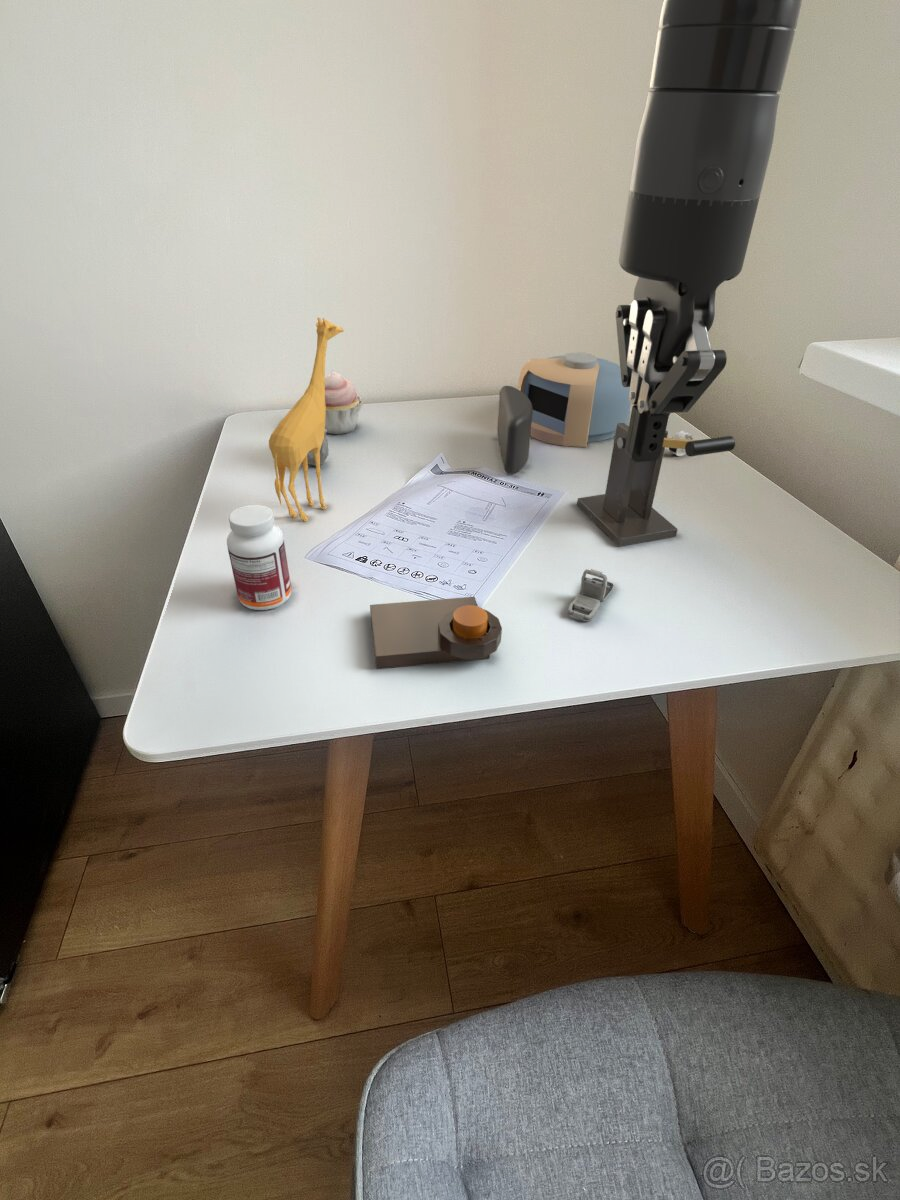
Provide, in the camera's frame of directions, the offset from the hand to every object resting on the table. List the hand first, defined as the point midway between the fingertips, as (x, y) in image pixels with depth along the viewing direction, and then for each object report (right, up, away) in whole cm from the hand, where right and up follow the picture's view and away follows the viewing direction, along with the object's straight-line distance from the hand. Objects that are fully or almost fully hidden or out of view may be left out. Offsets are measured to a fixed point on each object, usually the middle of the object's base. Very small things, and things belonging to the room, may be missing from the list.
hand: (641, 456), depth 52 cm
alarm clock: (+8, +21, +75) cm, 79 cm away
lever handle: (+13, +7, +34) cm, 37 cm away
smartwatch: (+24, +14, +65) cm, 71 cm away
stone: (-36, +11, +60) cm, 71 cm away
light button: (-12, -14, +21) cm, 28 cm away
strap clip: (+3, -11, +31) cm, 33 cm away
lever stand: (+11, +1, +47) cm, 48 cm away
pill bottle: (-36, -10, +31) cm, 48 cm away
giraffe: (-33, +3, +49) cm, 59 cm away
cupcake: (-34, +20, +72) cm, 82 cm away
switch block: (-16, -15, +25) cm, 33 cm away
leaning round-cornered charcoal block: (-5, +13, +64) cm, 65 cm away
